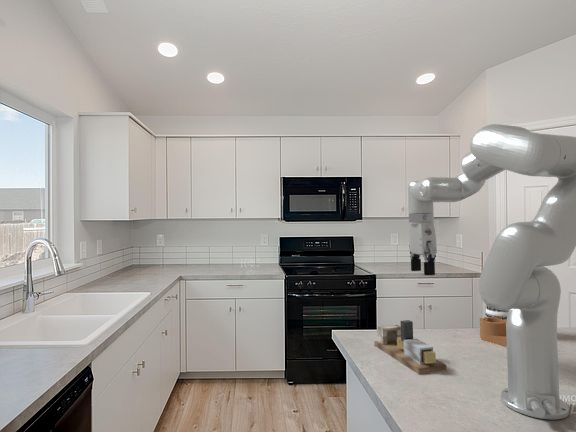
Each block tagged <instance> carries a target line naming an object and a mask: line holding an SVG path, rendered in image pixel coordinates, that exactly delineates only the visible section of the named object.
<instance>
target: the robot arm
mask: <svg viewBox="0 0 576 432" xmlns="http://www.w3.org/2000/svg"><path fill="white" fill-rule="evenodd" d="M469 149H470V151H469V152H467V153H466V154H465V155H464V156H463V157H462V159H461V164H460V166H461V170H462V173H461V174H459V175H458V176H457V175H456V176H455V177H445V176H444V177H443V176H440V177H439V176H438V177H436V176H430V177H428V176H427V177H425V178H423V179H420V180H415V181H414V180H413V181H410V182H409V183H408V186H407V197H408V198H407V200H408V201H407V202H408V203H407V205H408V206H407V207H408V208H407V209H408V225H410V226H409V245H408V247H409V254H410V255H409V257H410V271H411V272H421V271H422V260H421V259H422V258H421V256H422V257H423V260H424V262H423V274H424V276H435V275H436V257H437V253H438V250H437V249H438V248H437V237H436V228H435V221H434V220H435V218H434V214H435V213H434V203H456V202H460V201H463V200H465V199H467V198H470V197H471V196H473V195H475V194H476V193H478V192H479V191H480V190H481V189H482V188H483V186H484V185H485V183H486V181H487V180H489V179H491V178H493V177H495V176H496V175H499V174H500V173H502V172H504V171H509V172H513V173H515V174H519V175H523V176H527V177H528V176H529V177H543V178H544V177H545V178H557V182H556V183H555V185H554V186H553V187H552V188H551V189H550V190H549V191H548V192H547V193H546V195H545V196H544V198H543V199H542V200H541V204H540V207H539V208H538V210H537V212H536V214H535V216H534V218H533V219H532V220H530V221H519V222H514V223H511V224H509V225H507V226H505V227H504V228H503V229H501V230H500V231H499V233H498V234H497V236H495V239H494V241H493V243H492V246H491V247H490V250H489V253H488V256H487V257H486V260H485V262H484V265H483V268H482V270H481V273H480V275H479V279H478V292H479V295H480V298H481V300H482V301H483V302H484V304H487V305H488V306H489V307H491V308H493V309H496V310H502V311H508V310H509V312H508V315H507V321H506V339H507V347H506V361H507V362H506V365H507V386H508V387H507V388H505V389H503V390H502V391H501V392H500V400H501V401H502V403H503V404H504V405H505V406H507V407H509V409H511V410H513V411H514V412H517V413H519V414H522V415H525V416H529V417H532V418H536V419H541V420H552V421H553V420H554V421H555V420H562V419H565V418H567V417H568V416H569V415H570V409H569V408H570V407H569V406H568V404H567V403H566V402H565V401H564V400H563V399H561V398H560V375H559V356H558V355H559V353H558V352H559V351H558V350H559V349H558V313H559V312H558V311H559V306H560V301H561V293H562V291H561V290H562V289H561V283H560V281H559V278H558V276H557V275H556V274H555V272H553V271H552V270H551V269H549V268H547V267H549V266H550V267H551V266H557V265H561V264H563V263H566V262H567V261H568V260H570V258H571V256H572V255H573V253H574V251H575V249H576V136H571V135H562V134H561V135H560V134H559V135H558V134H557V135H556V134H549V133H548V134H547V133H538V132H532V131H530V130H529V129H527V128H525V127H522V126H517V125H508V124H499V123H498V124H496V123H492V124H491V123H490V124H488V125H484V126H482V127H481V128H479V129H478V130H477V131H476V132H475V133H474V135H473V136H472V138H471V141H470V145H469Z"/></svg>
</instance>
